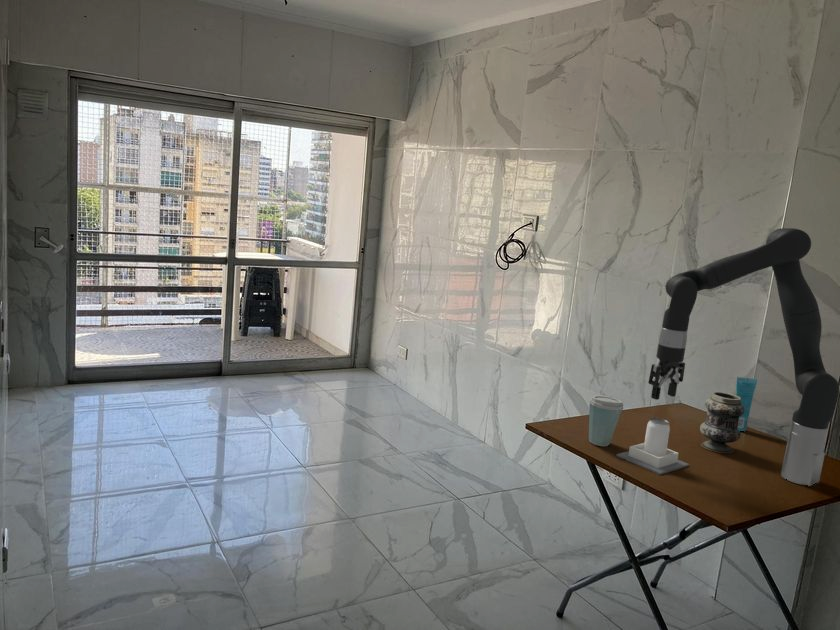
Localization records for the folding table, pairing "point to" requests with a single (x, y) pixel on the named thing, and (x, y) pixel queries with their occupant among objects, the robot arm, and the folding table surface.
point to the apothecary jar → (721, 422)
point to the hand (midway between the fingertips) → (663, 397)
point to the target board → (653, 459)
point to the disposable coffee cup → (603, 419)
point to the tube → (745, 398)
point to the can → (657, 437)
